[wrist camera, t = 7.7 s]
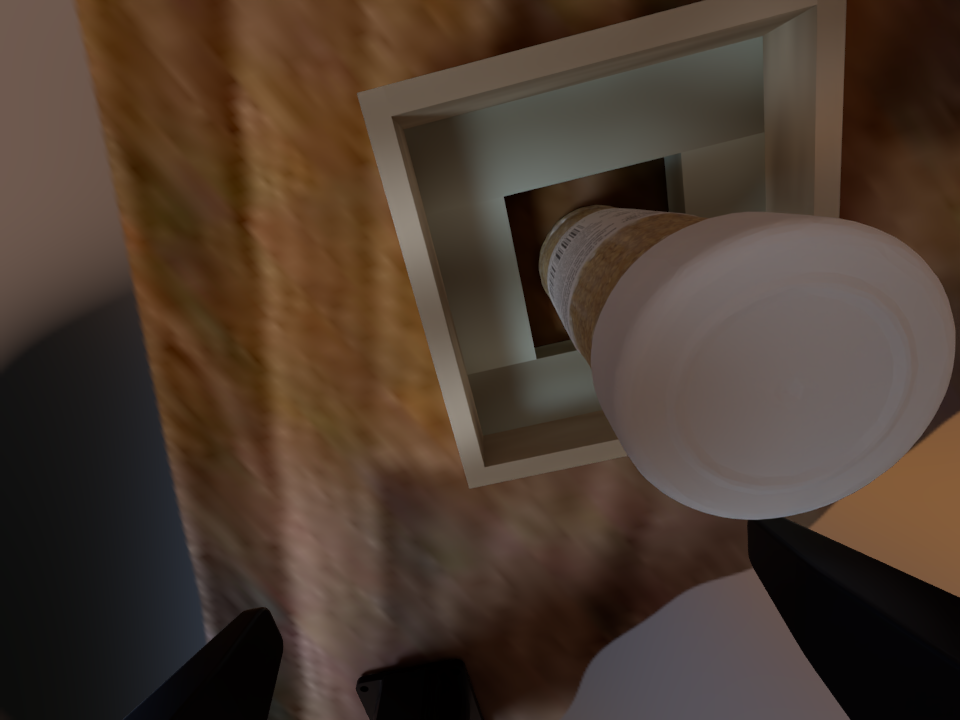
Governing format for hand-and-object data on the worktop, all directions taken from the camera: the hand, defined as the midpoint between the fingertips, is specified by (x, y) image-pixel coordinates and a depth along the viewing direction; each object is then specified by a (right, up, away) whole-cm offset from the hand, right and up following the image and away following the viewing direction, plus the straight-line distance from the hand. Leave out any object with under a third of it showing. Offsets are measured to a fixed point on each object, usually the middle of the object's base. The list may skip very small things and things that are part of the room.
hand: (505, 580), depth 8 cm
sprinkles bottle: (+4, +8, +10) cm, 14 cm away
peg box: (+4, +8, +10) cm, 14 cm away
